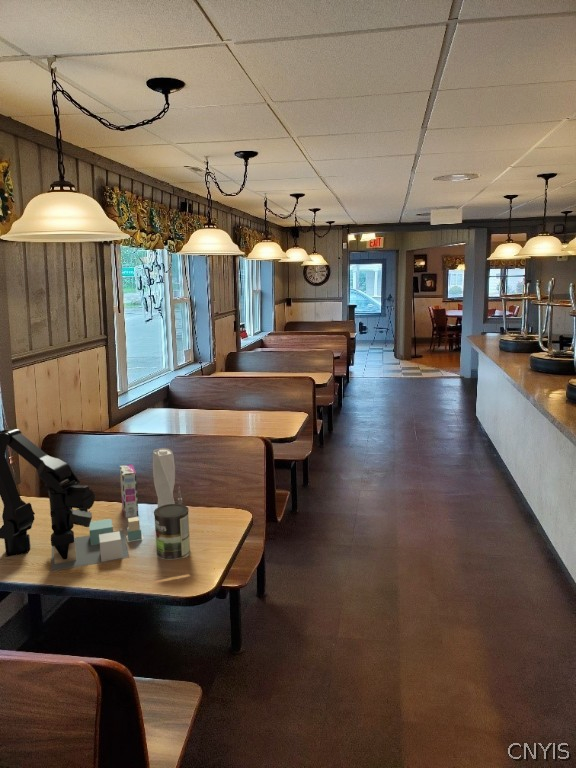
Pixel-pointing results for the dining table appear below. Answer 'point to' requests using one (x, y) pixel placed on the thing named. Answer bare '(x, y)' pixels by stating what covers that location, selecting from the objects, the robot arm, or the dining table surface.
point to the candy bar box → (129, 491)
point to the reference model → (134, 530)
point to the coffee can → (172, 531)
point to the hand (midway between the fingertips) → (65, 554)
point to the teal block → (99, 529)
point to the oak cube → (70, 556)
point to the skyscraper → (164, 476)
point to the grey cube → (110, 546)
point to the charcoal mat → (87, 553)
